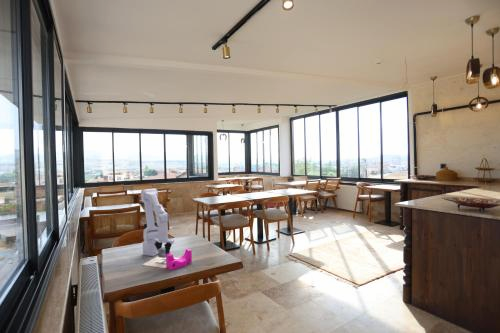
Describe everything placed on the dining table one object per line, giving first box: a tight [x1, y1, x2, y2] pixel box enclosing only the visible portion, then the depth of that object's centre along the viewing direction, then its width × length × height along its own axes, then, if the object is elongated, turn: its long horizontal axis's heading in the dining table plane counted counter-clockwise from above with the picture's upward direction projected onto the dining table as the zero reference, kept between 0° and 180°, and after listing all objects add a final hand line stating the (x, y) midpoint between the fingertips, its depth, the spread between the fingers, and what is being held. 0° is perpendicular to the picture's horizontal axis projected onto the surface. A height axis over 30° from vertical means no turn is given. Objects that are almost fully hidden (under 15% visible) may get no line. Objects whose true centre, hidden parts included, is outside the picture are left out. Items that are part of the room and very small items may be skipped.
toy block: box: [166, 248, 193, 271], centre depth 167 cm, size 15×6×8 cm, turn 130°
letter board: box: [141, 255, 180, 269], centre depth 173 cm, size 17×16×1 cm
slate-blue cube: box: [157, 246, 171, 258], centre depth 173 cm, size 5×5×5 cm
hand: (163, 254), depth 172 cm, fingers closed on slate-blue cube, 5 cm apart
